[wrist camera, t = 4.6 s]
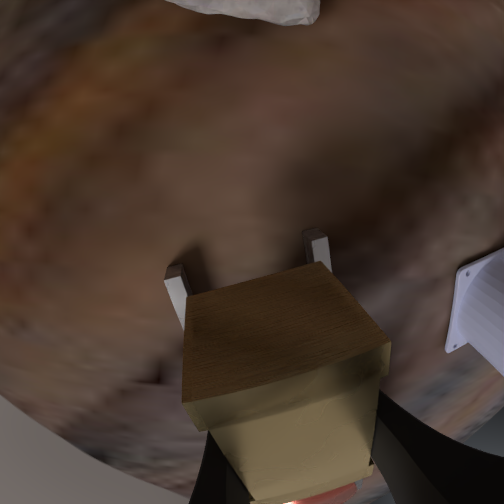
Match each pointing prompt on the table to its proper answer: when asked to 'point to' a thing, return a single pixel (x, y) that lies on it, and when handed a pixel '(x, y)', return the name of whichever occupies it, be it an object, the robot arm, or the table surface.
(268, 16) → the stone tool
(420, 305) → the table surface
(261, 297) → the gold flanged block
